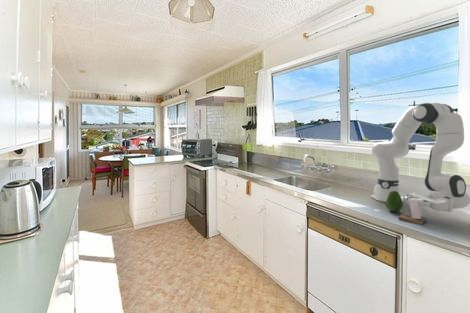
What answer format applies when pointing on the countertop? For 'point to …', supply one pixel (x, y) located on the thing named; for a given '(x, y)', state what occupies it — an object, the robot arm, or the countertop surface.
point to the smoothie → (415, 207)
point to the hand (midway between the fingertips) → (412, 201)
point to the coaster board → (411, 219)
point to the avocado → (394, 201)
